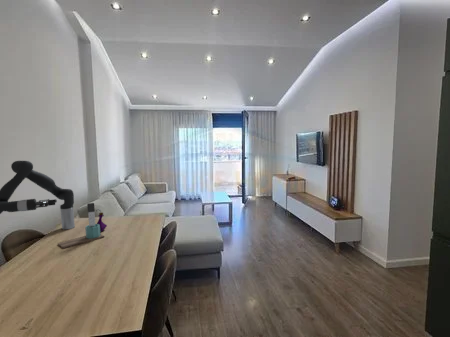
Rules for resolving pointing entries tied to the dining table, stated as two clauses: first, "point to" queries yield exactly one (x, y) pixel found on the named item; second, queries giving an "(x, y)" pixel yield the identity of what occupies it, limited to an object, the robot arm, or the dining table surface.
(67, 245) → the walnut board
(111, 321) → the dining table surface
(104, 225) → the perfume bottle
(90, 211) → the grey long forked bar
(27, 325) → the dining table surface
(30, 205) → the robot arm
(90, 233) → the crock
